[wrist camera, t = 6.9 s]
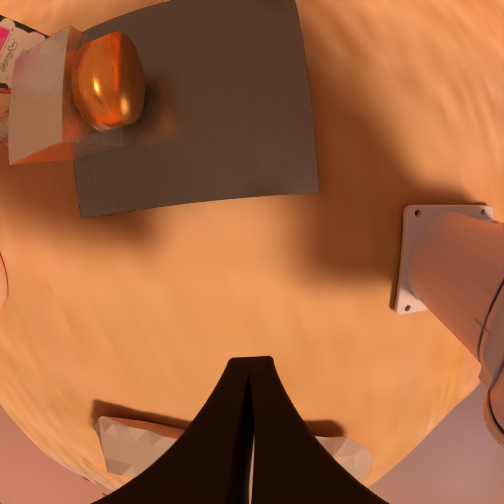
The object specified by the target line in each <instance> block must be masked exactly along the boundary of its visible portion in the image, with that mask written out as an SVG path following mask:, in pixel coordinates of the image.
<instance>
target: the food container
mask: <svg viewBox="0 0 504 504" xmlns="http://www.w3.org/2000/svg"><path fill="white" fill-rule="evenodd" d="M94 428H95V430H96V433H97V435H98V437H99V440H100V444H101V447H102V451H103V454H104V457H105V462H106V467H107V472H110V473H113V474H117V475H121V476H127V477H134V478H135V477H136V476H138V475H139V474H140V473H142V472H143V471H144V470H145V469H147V468H148V467H149V466H150V465H151V464H153V463H154V462H155V461H156V460H157V459H158V458H159V457H160V456H161V455H162V454H163V453H165V452H166V451H167V450H168V449H169V448H170V447H171V446H172V445H173V443H174V442H175V441H176V440H177V439H178V438H179V437H180V436H181V435H182V434H183V432H184V431H185V429H180V428H176V427H171V426H166V425H161V424H156V423H151V422H146V421H139V420H131V419H123V418H115V417H107V416H101V417H100V418H99V419H98V420H97V422H96V424H95V425H94ZM315 437H316V438H317V440H318V441H319V442H320V443H321V444H322V446H323V447H324V448H325V449H326V450H327V451H328V452H329V453H330V455H331V456H332V457H333V458H334V459H335V460H336V461H337V462H338V463H339V464H340V465H341V466H342V467H343V468H345V469H346V470H347V471H348V472H349V473H350V474H351V475H352V476H353V477H354V478H356V479H357V480H358V481H359V482H360V483H361V484H363V482H364V481H365V480H366V479H367V477H368V474H369V471H370V468H371V465H372V462H373V457H372V456H371V455H370V453H369V452H368V451H367V450H366V449H365V448H364V447H363V446H361V445H360V444H359V443H357V442H356V441H354V440H353V439H352V438H350V437H349V436H343V437H329V438H326V437H319V436H315ZM253 461H254V445H253V454H252V463H251V472H250V484H249V500H251V496H252V480H253Z"/></svg>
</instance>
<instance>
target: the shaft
mask: <svg viewBox="0 0 504 504" xmlns="http://www.w3.org/2000/svg"><path fill="white" fill-rule="evenodd" d="M71 82H72V91H73V96H74V99H75V111H78V112H80V114H81V115H82V117H83V118H84V120H85V121H86V122H87V123H88V124H89V125H90V126H91V127H92V128H94V129H96V130H98V131H107V130H110V129H114V128H117V127H121V126H124V125H128V124H132V123H134V122H136V121H137V120H138V118H139V117H140V115H141V112H142V109H143V105H144V97H145V84H144V74H143V69H142V64H141V60H140V57H139V54H138V52H137V49H136V47H135V45H134V44H133V42H132V41H131V39H130V38H129V37H128V36H127V35H126V34H124V33H122V32H113V33H111V34H108V35H106V36H103V37H101V38H98V39H96V40H93V41H91V42H89V43H87V44H85V45H84V46H82V47H81V48H80V50H79V51H78V53H77V54H76V56H75V59H74V62H73V66H72V75H71ZM8 127H9V110H8V111H7V112H5V113H4V114H3V115H2V116H1V117H0V142H1V143H2V144H3V145H4V146H6V147H8Z"/></svg>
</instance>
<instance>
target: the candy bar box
mask: <svg viewBox="0 0 504 504" xmlns="http://www.w3.org/2000/svg"><path fill="white" fill-rule="evenodd" d="M48 37H49V36H47V35H45V34H43V33H41V32H39V31H37V30H35V29H32V28H30V27H28V26H26V25H23V24H21V23H19V22H16V21H14V20H12V19H10V18H7V17H4V16H2V15H0V93H11V85H12V77H13V70H14V64H15V60H16V59H17V58H18V57H20V56H21V55H22V54H24V53H25V52H27V51H28V50H30V49H31V48H33V47H34V46H36V45H37V44H39V43H40V42H42V41H44V40H45V39H47V38H48Z"/></svg>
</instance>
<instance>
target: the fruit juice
mask: <svg viewBox="0 0 504 504" xmlns="http://www.w3.org/2000/svg"><path fill="white" fill-rule="evenodd" d="M7 296H8V284H7V277H6V272H5V268H4V264H3V261H2V258H1V255H0V310H1V309H2V308H3V306H4V305H5V303H6V300H7Z"/></svg>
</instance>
